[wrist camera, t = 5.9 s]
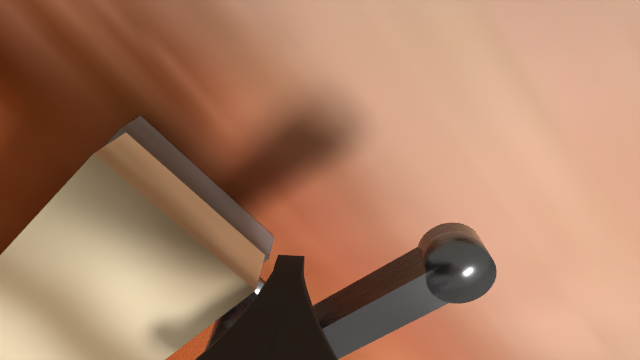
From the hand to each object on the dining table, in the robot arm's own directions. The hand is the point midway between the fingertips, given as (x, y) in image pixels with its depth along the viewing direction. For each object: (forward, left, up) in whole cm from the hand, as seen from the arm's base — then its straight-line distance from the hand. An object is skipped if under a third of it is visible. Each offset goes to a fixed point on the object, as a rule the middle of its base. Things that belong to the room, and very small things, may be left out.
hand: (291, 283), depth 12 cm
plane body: (+3, +14, -4) cm, 15 cm away
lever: (-2, 0, -4) cm, 4 cm away
